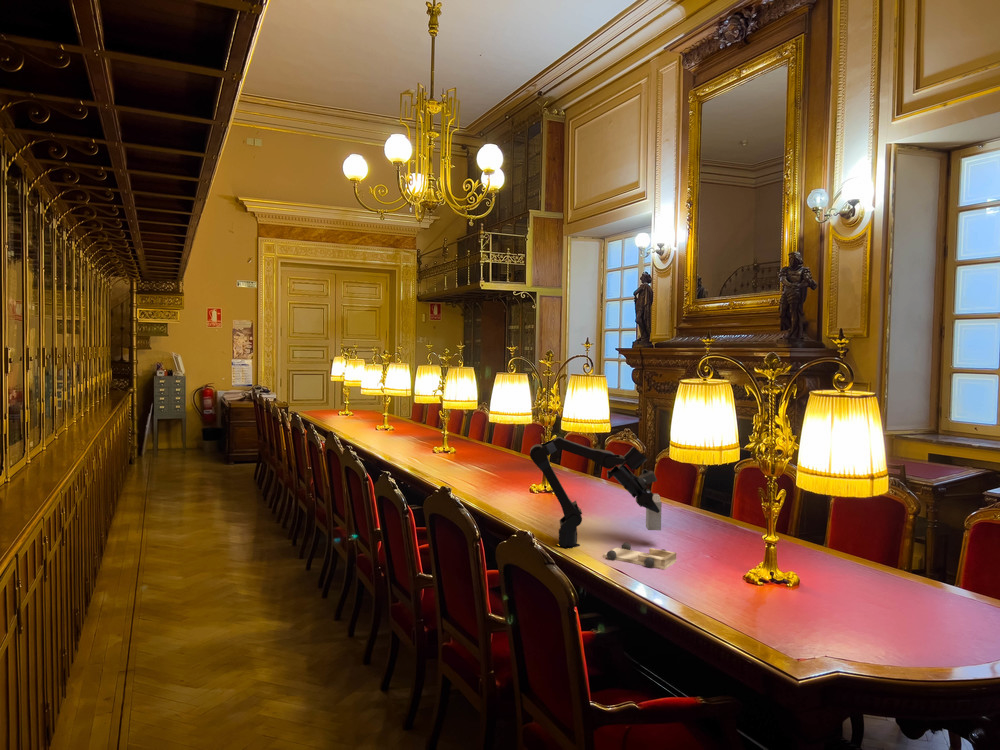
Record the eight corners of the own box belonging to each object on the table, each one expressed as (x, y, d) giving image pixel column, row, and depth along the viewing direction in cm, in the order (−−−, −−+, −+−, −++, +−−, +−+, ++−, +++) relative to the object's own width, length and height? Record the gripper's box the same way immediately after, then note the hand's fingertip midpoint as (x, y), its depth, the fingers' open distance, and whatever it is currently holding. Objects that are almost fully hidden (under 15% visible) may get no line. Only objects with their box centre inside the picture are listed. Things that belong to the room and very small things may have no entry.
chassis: (601, 558, 230) (601, 549, 230) (617, 549, 240) (617, 540, 240) (663, 570, 217) (663, 561, 217) (677, 560, 227) (677, 551, 227)
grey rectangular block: (648, 530, 241) (648, 496, 240) (645, 526, 246) (646, 493, 245) (660, 530, 241) (661, 496, 240) (658, 526, 246) (659, 493, 245)
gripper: (647, 467, 233) (679, 500, 233) (639, 459, 252) (668, 489, 252) (624, 490, 234) (656, 522, 234) (617, 479, 252) (646, 510, 252)
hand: (657, 510), depth 243 cm, fingers closed on grey rectangular block, 5 cm apart
